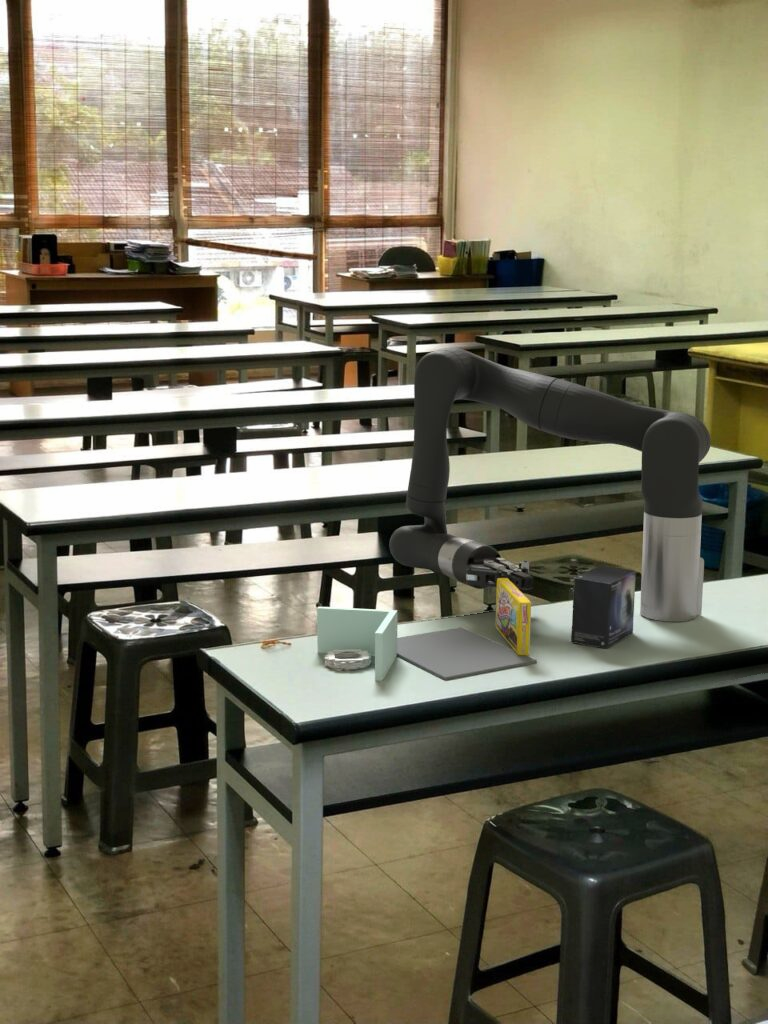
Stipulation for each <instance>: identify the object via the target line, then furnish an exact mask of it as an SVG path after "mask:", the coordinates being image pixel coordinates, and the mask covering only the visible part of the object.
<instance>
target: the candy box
mask: <svg viewBox="0 0 768 1024" xmlns="http://www.w3.org/2000/svg"><path fill="white" fill-rule="evenodd" d="M495 595H496V596H495V628H496V629H497V631H498V632H499V633H500V634H501V636H502V637H503V638H504V639H505V640H506V642H507V643H508V644H509V646H510V647H511V649H513V650H515V651H516V653H517V654H518V655H522V656H529V655H530V644H531V621H532V620H531V616H532V615H531V613H532V602H531V601H530V600H529V599H528V598H527V596H526V595H525V594H524V593H523V592H522V591H521V589H519V588H517V587H516V586H515V585H514V584H513V583H512V582H511V581H510V580H509V579H508V578H497V587H496V594H495Z"/></svg>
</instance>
